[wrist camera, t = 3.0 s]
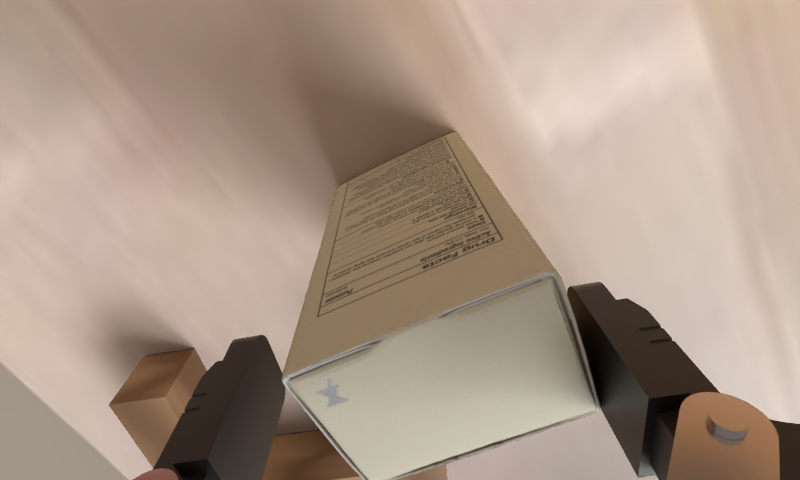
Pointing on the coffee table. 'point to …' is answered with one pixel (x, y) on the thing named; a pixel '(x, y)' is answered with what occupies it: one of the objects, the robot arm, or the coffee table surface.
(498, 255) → the skincare box
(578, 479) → the coffee table surface
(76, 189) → the coffee table surface
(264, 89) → the coffee table surface
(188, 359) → the wooden u-shaped block
